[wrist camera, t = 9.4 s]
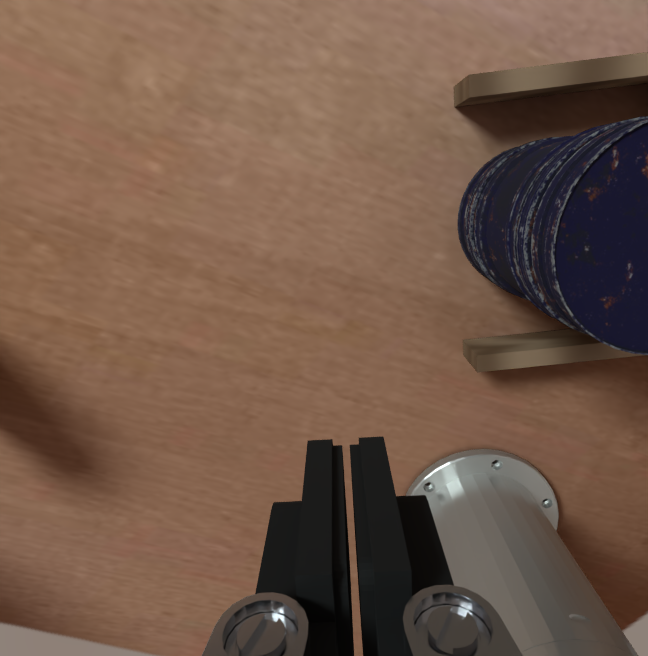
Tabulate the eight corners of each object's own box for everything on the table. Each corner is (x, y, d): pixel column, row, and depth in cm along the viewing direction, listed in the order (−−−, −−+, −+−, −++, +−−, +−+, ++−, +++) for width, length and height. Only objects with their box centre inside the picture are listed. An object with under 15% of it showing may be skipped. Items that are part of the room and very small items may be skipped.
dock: (463, 355, 36) (480, 376, 32) (453, 86, 31) (472, 72, 27) (662, 334, 36) (705, 353, 32) (686, 57, 31) (739, 38, 27)
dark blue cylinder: (471, 304, 35) (568, 384, 21) (441, 168, 33) (528, 152, 18) (609, 266, 34) (810, 321, 20) (589, 122, 32) (804, 67, 18)
